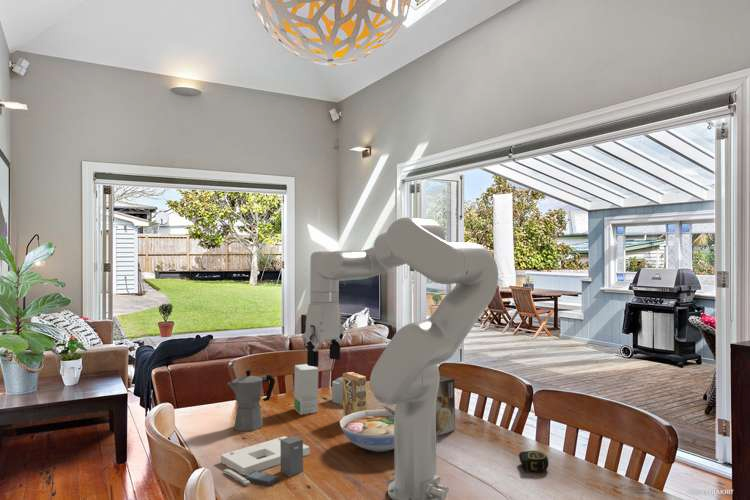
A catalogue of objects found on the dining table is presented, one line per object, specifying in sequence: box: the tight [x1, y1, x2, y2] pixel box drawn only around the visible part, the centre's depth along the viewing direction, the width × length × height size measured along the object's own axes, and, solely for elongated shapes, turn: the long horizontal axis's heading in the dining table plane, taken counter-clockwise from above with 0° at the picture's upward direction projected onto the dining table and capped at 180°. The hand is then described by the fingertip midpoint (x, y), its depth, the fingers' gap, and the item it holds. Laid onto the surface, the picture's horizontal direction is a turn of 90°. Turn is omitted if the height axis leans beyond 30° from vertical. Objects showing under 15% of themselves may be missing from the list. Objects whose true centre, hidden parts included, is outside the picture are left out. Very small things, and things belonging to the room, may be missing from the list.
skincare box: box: [293, 363, 319, 416], centre depth 182 cm, size 8×7×16 cm
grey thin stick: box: [223, 468, 251, 487], centre depth 127 cm, size 11×1×1 cm, turn 44°
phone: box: [244, 471, 280, 487], centre depth 126 cm, size 8×4×1 cm, turn 64°
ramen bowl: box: [339, 405, 395, 453], centre depth 147 cm, size 25×23×8 cm
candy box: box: [342, 371, 368, 417], centre depth 170 cm, size 9×4×15 cm, turn 33°
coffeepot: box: [227, 369, 276, 432], centre depth 166 cm, size 15×9×18 cm, turn 121°
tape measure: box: [518, 450, 549, 473], centre depth 131 cm, size 7×7×4 cm
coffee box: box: [436, 375, 456, 437], centre depth 160 cm, size 9×6×16 cm
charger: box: [280, 435, 304, 477], centre depth 131 cm, size 4×4×8 cm
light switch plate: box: [220, 435, 311, 476], centre depth 140 cm, size 12×20×2 cm, turn 134°
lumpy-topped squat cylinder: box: [331, 376, 368, 405], centre depth 194 cm, size 10×13×9 cm
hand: (324, 362), depth 138 cm, fingers open, 9 cm apart
